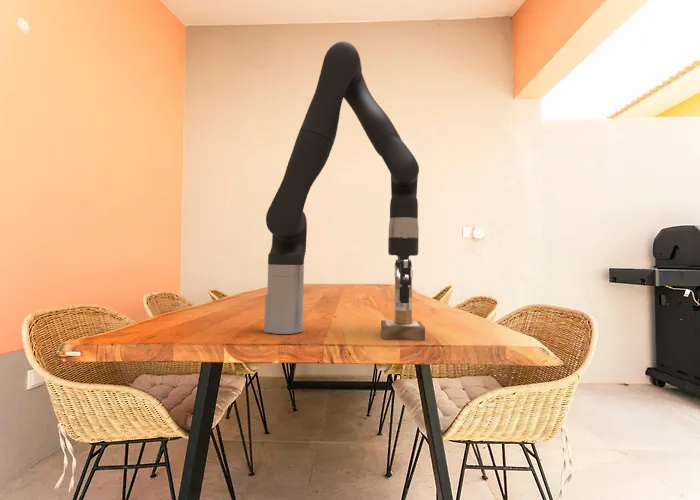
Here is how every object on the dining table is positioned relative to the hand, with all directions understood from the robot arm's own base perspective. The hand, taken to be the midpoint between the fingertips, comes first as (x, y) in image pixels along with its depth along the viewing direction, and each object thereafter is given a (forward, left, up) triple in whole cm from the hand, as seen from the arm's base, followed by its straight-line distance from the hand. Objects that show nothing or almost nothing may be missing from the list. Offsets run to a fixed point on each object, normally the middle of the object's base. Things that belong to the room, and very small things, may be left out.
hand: (402, 301), depth 103 cm
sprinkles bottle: (0, 0, -6) cm, 6 cm away
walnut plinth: (0, 0, -9) cm, 9 cm away
